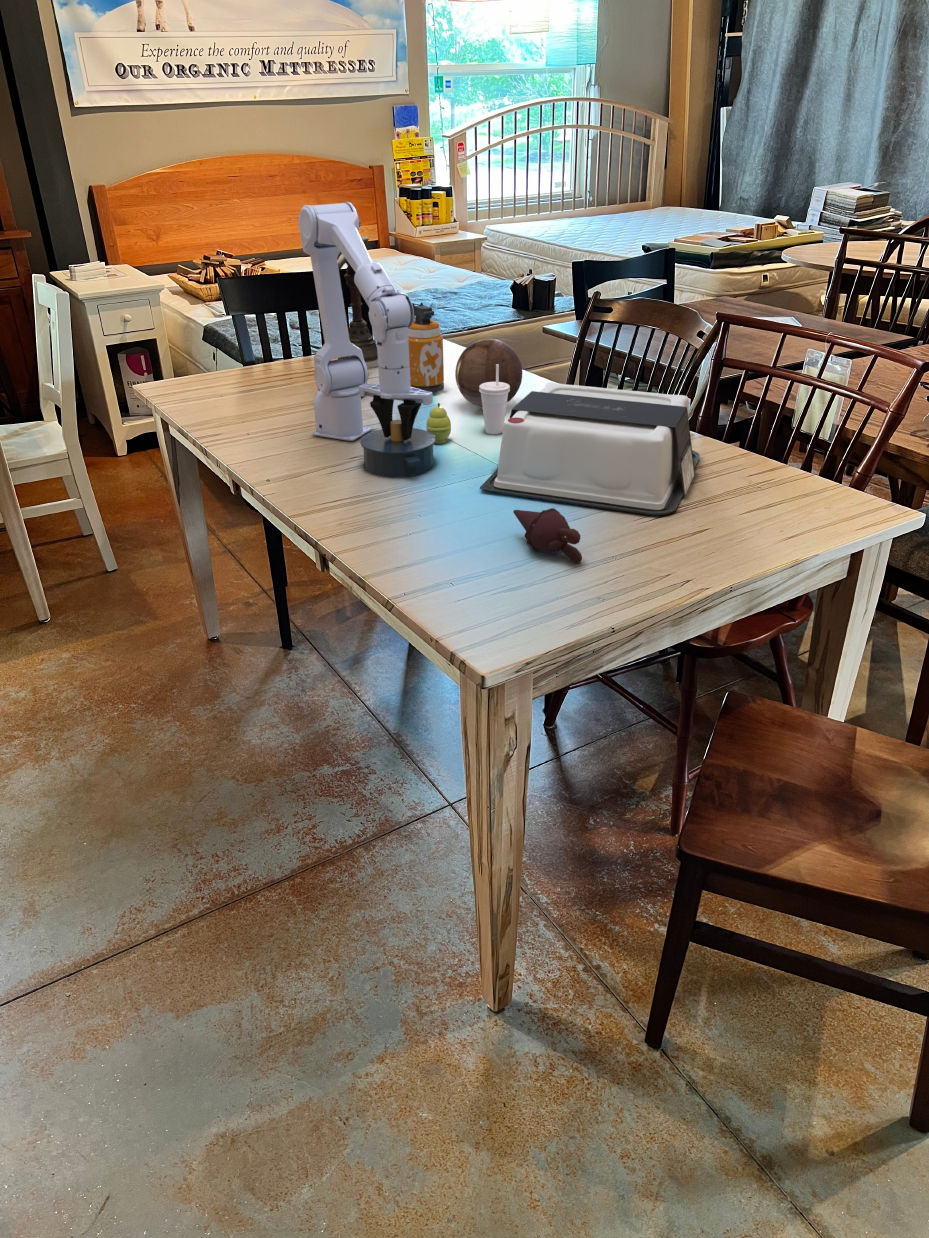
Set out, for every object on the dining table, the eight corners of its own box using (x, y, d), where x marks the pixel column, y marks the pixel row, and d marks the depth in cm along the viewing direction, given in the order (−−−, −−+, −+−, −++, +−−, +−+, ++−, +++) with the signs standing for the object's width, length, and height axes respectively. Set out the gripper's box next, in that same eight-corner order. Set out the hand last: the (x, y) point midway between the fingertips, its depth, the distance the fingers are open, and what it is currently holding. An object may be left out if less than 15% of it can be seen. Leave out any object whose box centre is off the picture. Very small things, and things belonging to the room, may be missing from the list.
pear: (422, 443, 178) (421, 404, 173) (433, 435, 181) (432, 398, 177) (444, 446, 176) (443, 407, 172) (455, 438, 180) (454, 400, 175)
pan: (381, 486, 158) (379, 463, 156) (352, 453, 173) (351, 431, 170) (448, 475, 162) (448, 452, 160) (415, 444, 177) (414, 423, 175)
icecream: (493, 504, 134) (559, 544, 125) (529, 482, 137) (596, 520, 128) (499, 539, 139) (563, 580, 130) (533, 516, 142) (598, 555, 132)
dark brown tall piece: (334, 375, 222) (320, 226, 204) (315, 364, 232) (300, 221, 214) (392, 366, 229) (384, 221, 211) (371, 355, 239) (362, 216, 221)
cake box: (477, 492, 155) (476, 424, 148) (533, 434, 181) (535, 375, 175) (674, 520, 144) (683, 448, 137) (703, 454, 170) (712, 391, 163)
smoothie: (506, 437, 180) (507, 369, 173) (476, 435, 181) (476, 368, 174) (511, 427, 185) (512, 361, 178) (482, 425, 187) (482, 360, 179)
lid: (373, 462, 157) (372, 438, 155) (352, 438, 169) (350, 416, 166) (446, 451, 162) (445, 428, 160) (420, 428, 173) (419, 406, 171)
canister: (416, 398, 204) (412, 310, 194) (397, 387, 212) (393, 301, 202) (450, 393, 208) (448, 306, 197) (430, 382, 216) (427, 298, 206)
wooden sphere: (525, 398, 203) (526, 332, 195) (517, 418, 190) (518, 349, 183) (462, 396, 205) (461, 331, 198) (450, 415, 193) (448, 347, 185)
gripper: (348, 366, 157) (354, 438, 164) (418, 375, 152) (421, 449, 159) (368, 357, 163) (373, 427, 170) (437, 365, 157) (439, 437, 164)
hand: (397, 437), depth 165 cm, fingers open, 3 cm apart
